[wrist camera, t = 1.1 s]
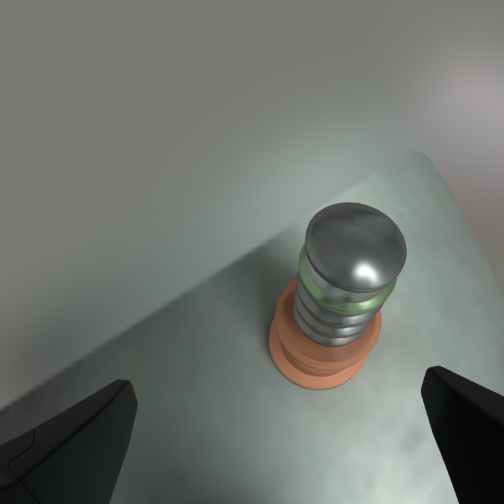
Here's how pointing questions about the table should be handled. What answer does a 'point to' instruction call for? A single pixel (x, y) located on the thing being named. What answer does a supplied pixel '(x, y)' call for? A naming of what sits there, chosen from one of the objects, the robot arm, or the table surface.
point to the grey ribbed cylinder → (346, 272)
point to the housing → (315, 349)
